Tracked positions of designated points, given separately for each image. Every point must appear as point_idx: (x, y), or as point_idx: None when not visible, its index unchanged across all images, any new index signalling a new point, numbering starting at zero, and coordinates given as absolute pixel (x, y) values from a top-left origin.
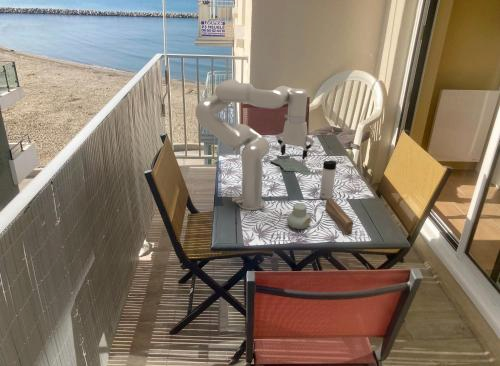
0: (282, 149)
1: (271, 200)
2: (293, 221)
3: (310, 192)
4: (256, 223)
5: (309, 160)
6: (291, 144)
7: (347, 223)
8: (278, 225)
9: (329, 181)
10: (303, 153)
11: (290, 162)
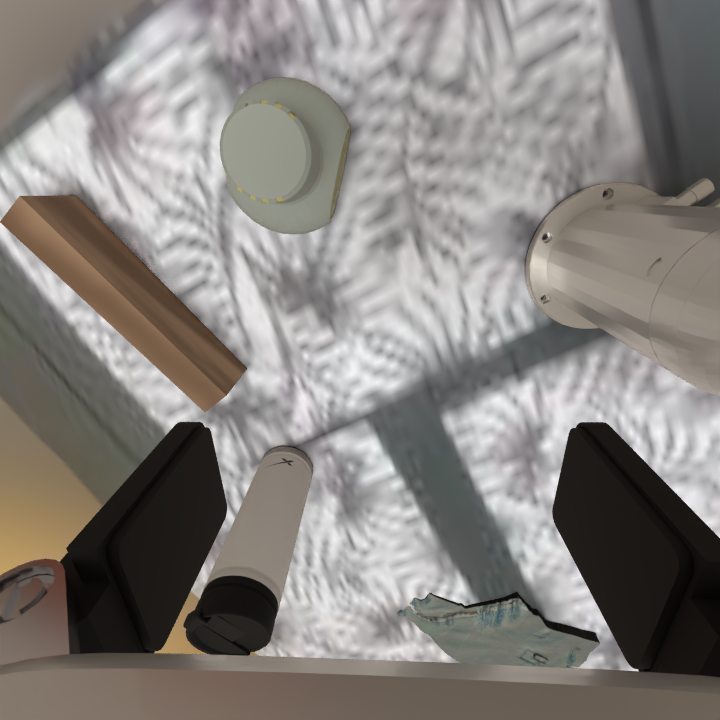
0: (668, 503)
1: (503, 345)
2: (291, 82)
3: (360, 481)
4: (514, 57)
5: None
6: (450, 690)
7: (23, 199)
8: (390, 106)
9: (243, 515)
10: (134, 491)
11: (513, 657)
